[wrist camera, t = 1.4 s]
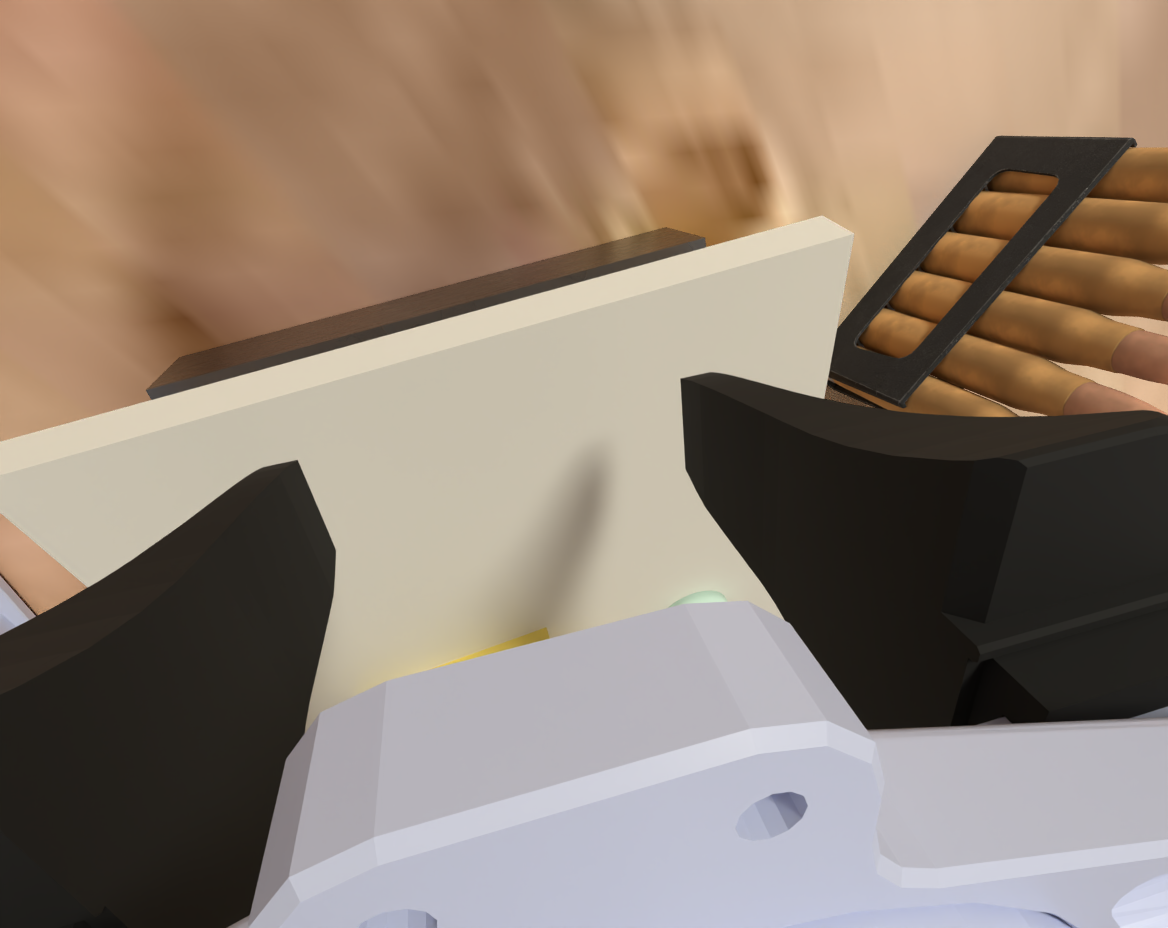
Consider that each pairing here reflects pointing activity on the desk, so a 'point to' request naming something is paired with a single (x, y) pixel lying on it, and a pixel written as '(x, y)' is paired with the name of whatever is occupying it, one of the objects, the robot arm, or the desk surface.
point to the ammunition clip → (1021, 287)
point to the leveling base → (419, 310)
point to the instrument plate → (469, 456)
